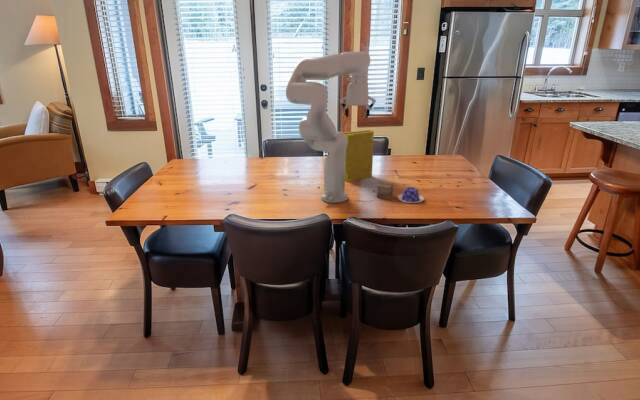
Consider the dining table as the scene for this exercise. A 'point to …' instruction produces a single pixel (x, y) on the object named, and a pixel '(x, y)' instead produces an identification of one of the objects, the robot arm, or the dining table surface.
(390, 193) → the walnut cube
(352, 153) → the book
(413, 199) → the pudding
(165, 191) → the dining table surface
